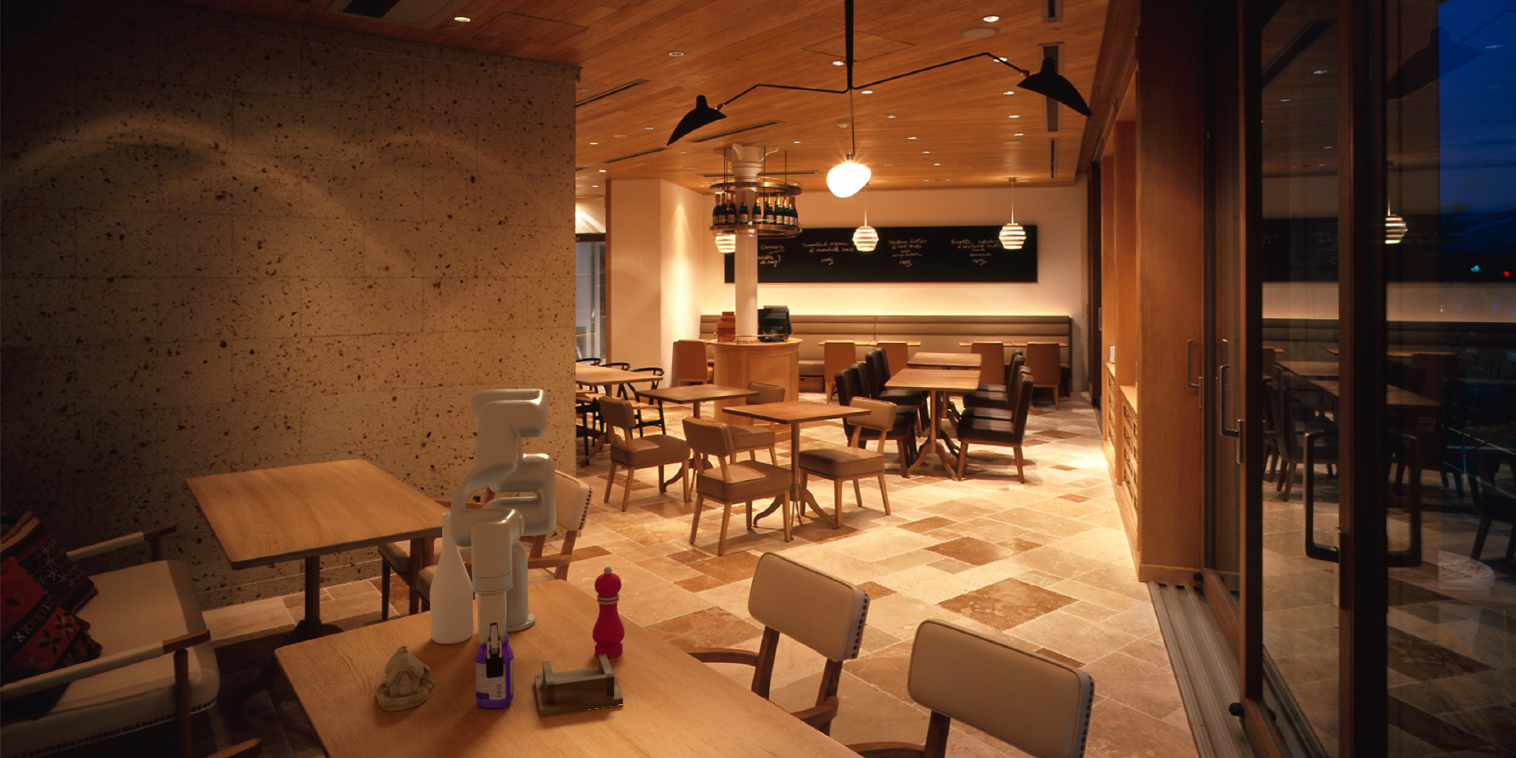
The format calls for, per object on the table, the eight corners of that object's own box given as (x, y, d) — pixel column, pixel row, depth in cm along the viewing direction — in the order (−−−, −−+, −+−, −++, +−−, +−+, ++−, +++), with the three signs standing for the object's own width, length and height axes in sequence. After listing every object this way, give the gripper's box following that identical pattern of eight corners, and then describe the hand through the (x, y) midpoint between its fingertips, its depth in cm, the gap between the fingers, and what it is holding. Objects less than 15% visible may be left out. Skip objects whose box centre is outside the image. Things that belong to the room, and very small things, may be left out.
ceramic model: (375, 686, 178) (373, 639, 177) (433, 676, 182) (431, 630, 181) (375, 715, 165) (374, 665, 164) (437, 704, 170) (436, 656, 169)
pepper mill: (621, 659, 191) (620, 572, 189) (589, 659, 191) (588, 571, 189) (627, 646, 198) (626, 562, 196) (596, 646, 198) (595, 561, 197)
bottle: (518, 697, 172) (516, 613, 171) (507, 711, 167) (505, 624, 165) (483, 695, 173) (481, 612, 172) (471, 709, 167) (469, 622, 166)
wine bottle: (429, 633, 205) (426, 510, 203) (471, 627, 209) (468, 507, 207) (432, 648, 197) (429, 520, 194) (476, 641, 201) (472, 515, 198)
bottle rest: (534, 681, 179) (534, 656, 179) (611, 672, 184) (610, 647, 184) (539, 717, 164) (539, 689, 164) (623, 705, 169) (622, 678, 169)
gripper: (472, 569, 175) (474, 654, 176) (472, 597, 158) (474, 690, 160) (510, 566, 177) (512, 649, 179) (514, 593, 161) (516, 684, 162)
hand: (494, 668), depth 169 cm, fingers open, 6 cm apart
